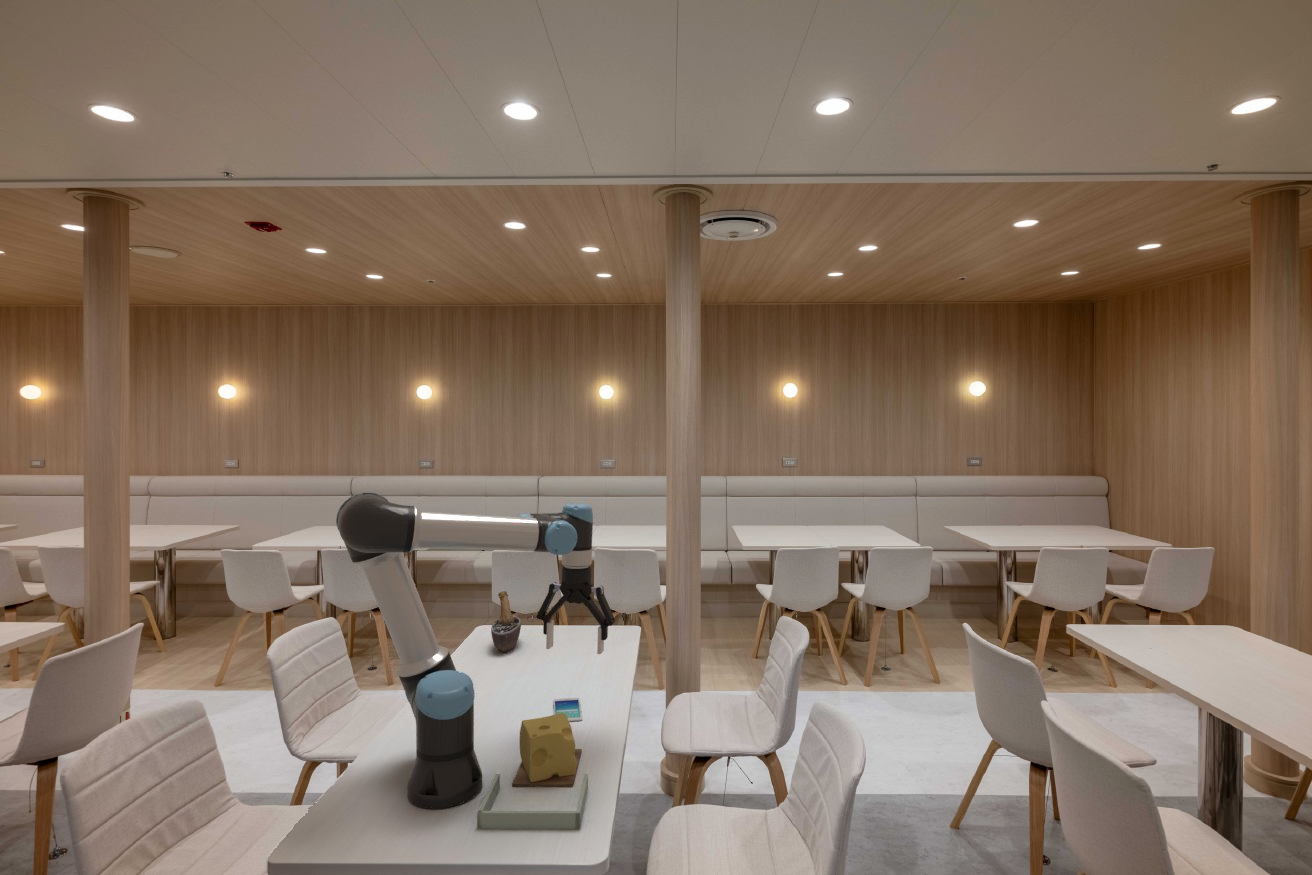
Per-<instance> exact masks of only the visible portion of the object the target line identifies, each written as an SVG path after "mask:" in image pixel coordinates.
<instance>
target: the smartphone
mask: <svg viewBox="0 0 1312 875" xmlns="http://www.w3.org/2000/svg"><path fill="white" fill-rule="evenodd" d="M552 704H553V705H552V707H553V715H555V714H559V713H564V714H565V715H566V716H567V718H568V721H569V723H575V722H577V723H578V722H582V721H583V715H582V709H581V708H582V706H581V701H580V697H568V698H567V697H566V698H554V699H553V703H552Z"/></svg>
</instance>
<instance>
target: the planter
mask: <svg viewBox="0 0 1312 875" xmlns="http://www.w3.org/2000/svg"><path fill="white" fill-rule="evenodd" d="M497 596H498V598H499V600H500V616H499V618H498V619H497V620H495V621H493V623H492V625H491V631H490V632H491V639H492V642H493V645H494V647H495V648H496V649H497V650H498V651H499V652H501V653H506V652H509V651H510V650H512V649H513V648H514V646H515V645H516V644H517V642H518V641H519V638H520V634H521V627H522V620H521V618H519V617H518V616H516V615H513V614H512V611H511V605H510V601H509V595H508V592H507V591H506V590H504V591H500V592H499V593H497Z"/></svg>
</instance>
